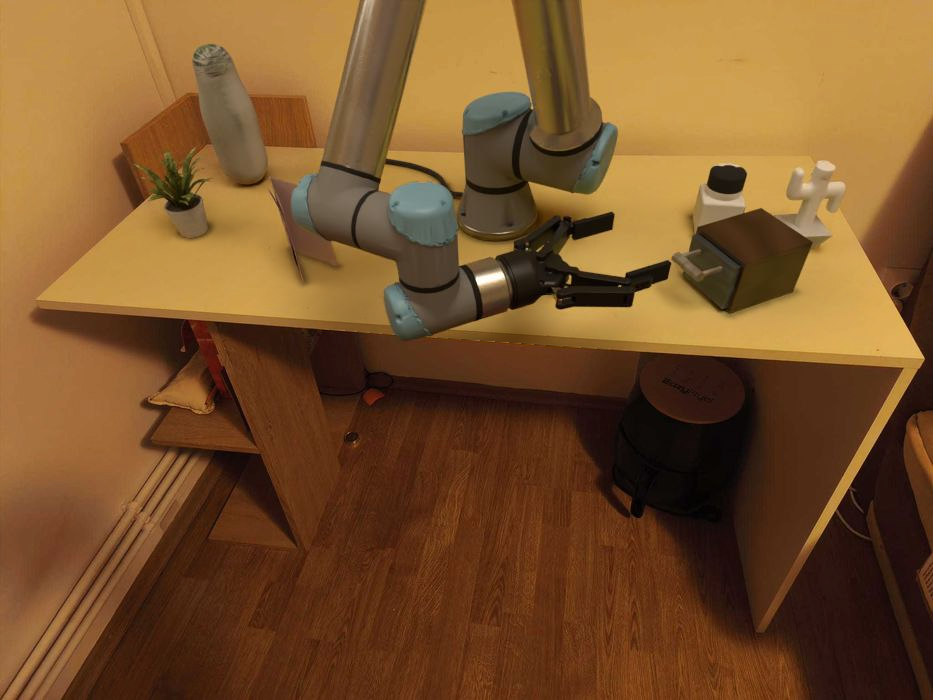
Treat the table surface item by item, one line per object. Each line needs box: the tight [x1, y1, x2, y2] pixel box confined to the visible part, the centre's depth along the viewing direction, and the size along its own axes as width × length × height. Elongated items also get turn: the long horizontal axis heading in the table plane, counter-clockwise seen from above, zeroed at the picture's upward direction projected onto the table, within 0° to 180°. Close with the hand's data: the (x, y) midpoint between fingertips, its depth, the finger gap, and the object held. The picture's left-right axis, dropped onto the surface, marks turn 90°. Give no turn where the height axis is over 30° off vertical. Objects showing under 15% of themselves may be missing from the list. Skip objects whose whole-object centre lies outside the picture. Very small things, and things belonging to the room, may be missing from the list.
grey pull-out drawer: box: [671, 234, 741, 310], centre depth 97 cm, size 16×10×8 cm, turn 112°
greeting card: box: [267, 176, 338, 283], centre depth 107 cm, size 11×7×15 cm, turn 23°
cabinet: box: [696, 207, 813, 314], centre depth 98 cm, size 13×11×10 cm
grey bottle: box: [192, 43, 269, 185], centre depth 126 cm, size 10×10×28 cm
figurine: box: [773, 159, 847, 250], centre depth 104 cm, size 7×9×15 cm
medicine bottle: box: [692, 162, 748, 235], centre depth 109 cm, size 7×7×12 cm
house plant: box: [130, 145, 214, 239], centre depth 115 cm, size 14×14×16 cm
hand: (638, 243), depth 86 cm, fingers open, 13 cm apart
